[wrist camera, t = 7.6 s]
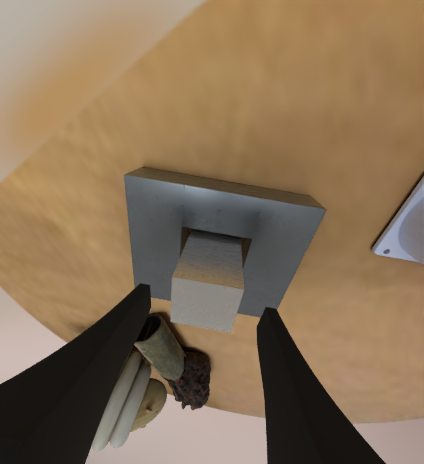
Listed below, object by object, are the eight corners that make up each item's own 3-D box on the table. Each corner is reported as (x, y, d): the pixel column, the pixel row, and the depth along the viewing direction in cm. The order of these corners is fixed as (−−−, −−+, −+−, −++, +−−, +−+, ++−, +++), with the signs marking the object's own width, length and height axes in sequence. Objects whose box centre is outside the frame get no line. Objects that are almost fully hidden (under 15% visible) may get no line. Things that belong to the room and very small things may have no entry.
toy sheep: (170, 371, 32) (143, 474, 23) (75, 345, 31) (5, 442, 22) (184, 340, 27) (157, 456, 17) (70, 308, 26) (-26, 413, 16)
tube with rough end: (137, 313, 26) (114, 356, 21) (180, 305, 24) (166, 350, 19) (187, 376, 33) (179, 419, 28) (222, 374, 31) (220, 419, 26)
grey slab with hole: (310, 195, 15) (326, 209, 12) (267, 295, 21) (271, 319, 18) (142, 166, 15) (124, 174, 13) (147, 274, 21) (135, 294, 18)
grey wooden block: (239, 223, 17) (244, 289, 10) (231, 257, 19) (230, 332, 12) (197, 216, 17) (171, 276, 10) (193, 251, 19) (170, 321, 12)
